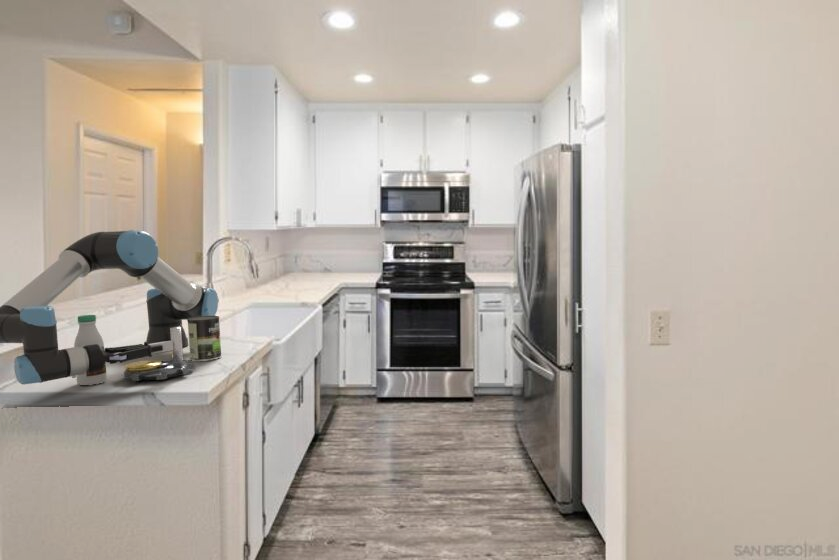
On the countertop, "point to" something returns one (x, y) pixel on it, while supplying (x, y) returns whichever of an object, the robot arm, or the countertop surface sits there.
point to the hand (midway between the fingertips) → (171, 345)
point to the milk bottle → (89, 337)
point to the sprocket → (161, 363)
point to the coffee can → (204, 338)
